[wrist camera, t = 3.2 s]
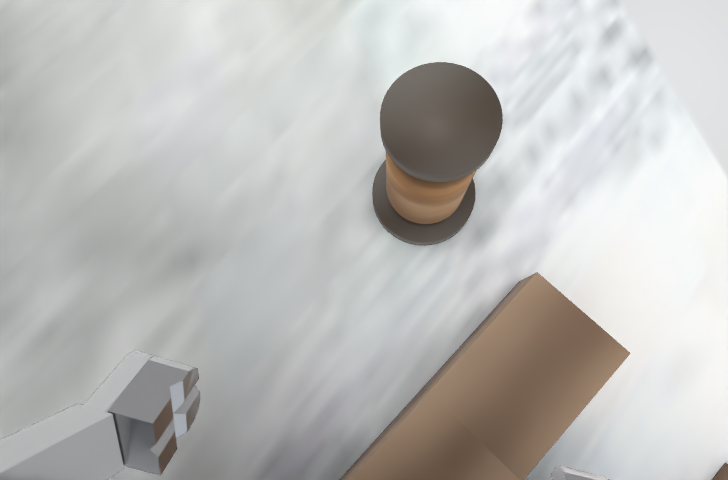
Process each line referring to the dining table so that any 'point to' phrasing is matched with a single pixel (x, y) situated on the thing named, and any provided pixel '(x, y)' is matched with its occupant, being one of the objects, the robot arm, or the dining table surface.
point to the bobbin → (433, 150)
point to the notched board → (500, 394)
